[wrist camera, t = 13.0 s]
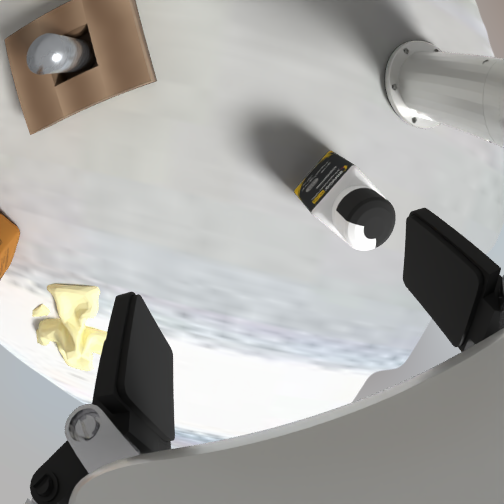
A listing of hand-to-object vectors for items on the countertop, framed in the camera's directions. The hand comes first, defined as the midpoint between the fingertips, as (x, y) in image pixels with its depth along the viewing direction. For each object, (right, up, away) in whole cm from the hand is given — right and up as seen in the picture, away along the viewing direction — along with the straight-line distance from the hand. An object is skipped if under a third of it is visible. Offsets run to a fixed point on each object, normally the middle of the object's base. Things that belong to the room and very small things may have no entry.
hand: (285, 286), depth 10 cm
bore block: (-19, +23, +16) cm, 34 cm away
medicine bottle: (+9, +10, +30) cm, 32 cm away
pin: (-19, +22, +15) cm, 33 cm away
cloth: (-31, -12, +35) cm, 49 cm away
